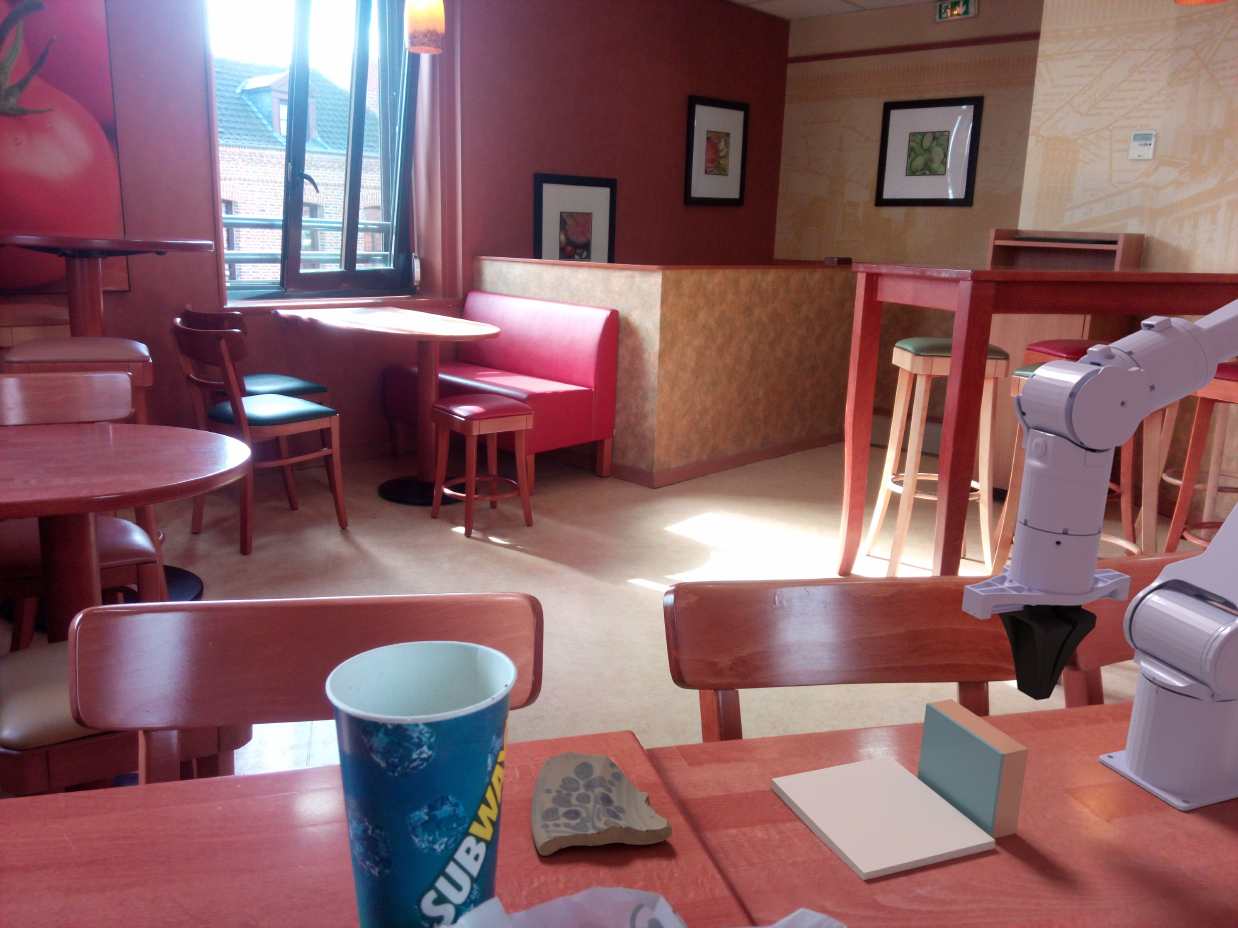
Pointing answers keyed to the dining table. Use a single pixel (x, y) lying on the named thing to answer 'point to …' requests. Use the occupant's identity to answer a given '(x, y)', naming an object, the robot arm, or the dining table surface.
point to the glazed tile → (972, 766)
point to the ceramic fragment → (590, 805)
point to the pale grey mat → (880, 817)
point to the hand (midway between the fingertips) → (1033, 693)
